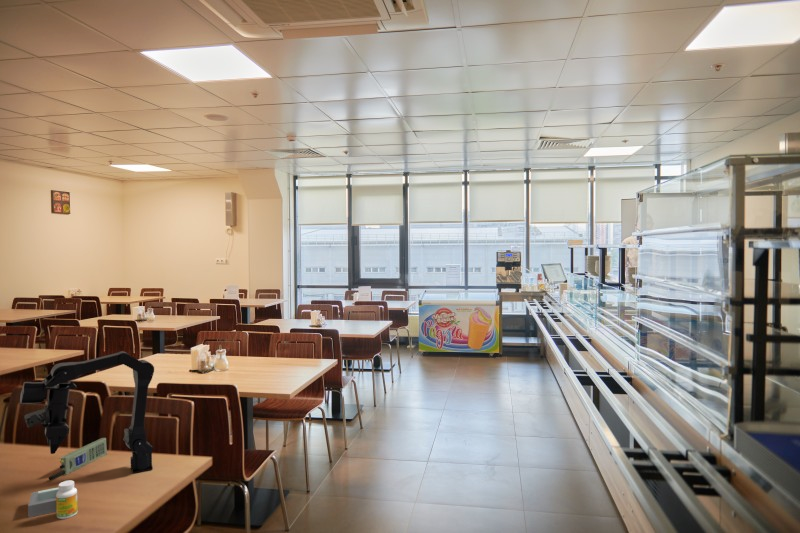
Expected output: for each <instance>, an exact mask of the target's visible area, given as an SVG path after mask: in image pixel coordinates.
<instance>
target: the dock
mask: <svg viewBox="0 0 800 533" xmlns="http://www.w3.org/2000/svg"><path fill="white" fill-rule="evenodd" d="M58 491H59V486H58V487H53V488H48V489H43V490H39V491H33V492H31V495H30V498H29V501H28V505H27V513H28V514H27V516H28V518H33V517H37V516H42V515H46V514H51V513H56V494H57V492H58Z"/></svg>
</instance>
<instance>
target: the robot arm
mask: <svg viewBox="0 0 800 533" xmlns="http://www.w3.org/2000/svg"><path fill="white" fill-rule="evenodd" d="M118 365H124V366H126V367H127V368H129V369H130V370H132V377H133V381H134V391H133V392H134V394H133V401H132V402H133V403H132V411H131V413H132V414H131V421H130V425H129V427H128V428H124V430H123V431H124V437H122V438H123V439H122V440H123V441H124V442H125V445H126V447H128V448H129V450H130V451H131V456H130V470H131V472H132V474H137V473H141V472H142V473H143V472H146V471H151V470H154V469H153V458H152V457H153V456H152V454H153V451H154V449H155V448H154V447H153V446H152V445H151V444H150V442H148V441H147V433H146V428H145V420H146V419H145V418H146V412H147V411H146V409H147V400H148V393H149V392H148V390H149V385H150V383H151V382H152V379H153V376H154V372H155V366H154V365H153V364H152V363H151V362H150V361H147V360H146V359H137V358H136V357H134V356H131V355H130V354H129V353H127V352H125V351H123V350H122V351H118V352H115V353H112V354H107V355H104V356H99V357H96V358H92V359H87V360H84V361H83V360H82V361H68V362H67V361H66V362H59V363H56V364H54V366H52V368H51V370H50V373H49V374H48V375H47V376H46V377H45V378H44V379H43V380H42V381H40V382H39V381H38V382H37V381H36V382H31V381H24V382H23V384H22V389H21V391H20V398H19V402H20V403H19V404H20V405H24V404H25V405H26V404H42V403H43V402H45V401H46V400H47V403H46V404H45V405H44V408H42V409H39V410H36V411H32V412H29V413H27V414H25V415H23V416H24V421H25V424H26V427H27V428H32V427H33V426H35V425H38V424H41V425H42V427H43V428H45V429H44V436H45V437H46V440H47V445H48V446H49V451H50V454H51V455H54V454H55V453H56V452H57V451H58V449H59V448H60V445H62V443H63V441H64V440H65V438H66V437H67V436H68V435H69V433H70V432H69V431H70V427H69V425H68V424H67V423H66V422H67V412H68V410H69V404H68V403H69V396H70V390H76V389H78V387H77V385H76V384H75V383H74V382H73V380H75V379H77V378H79V377H81V376H83V375H85V374H88V373H91V372H96V371H99V370H104V369H108V368H111V367H115V366H118Z"/></svg>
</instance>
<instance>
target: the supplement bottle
mask: <svg viewBox="0 0 800 533" xmlns="http://www.w3.org/2000/svg"><path fill="white" fill-rule="evenodd" d="M58 487H59V491H58V492H57V494H56V512H55V514H56V518H57V519H59V520H65V519H70V518H73V517H74V516H75V515H77V514H78V509H79V508H78V488H76V487H75V481H74V480H69V479H68V480H64V481H62V482H59V483H58Z"/></svg>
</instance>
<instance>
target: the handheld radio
mask: <svg viewBox="0 0 800 533" xmlns="http://www.w3.org/2000/svg"><path fill="white" fill-rule="evenodd" d="M107 447H108V446H107V437H101V438H99V439H97V440H95V441H92V442H91V443H88V444H86V445H84V446H82V447H79V448H77V449H75V450H74V451H72V452H69V453H67V454H65V455H63V456H61V457H59V459H60V460H59V463H60V464H61V465H59V469H61V471H59V472H57V473H54V474H53V475H51V476H49V477H48V480H49V481H52V480H54V479H57V478H58V477H60V476H62V475H63V476H66V475H69V474H72V473H73V472H75V471H77V470H80V469H81V468H83V467H85V466H87V465H89V464H91V463H93V462H95V461H96V460H98V459H101V458H103V457H105V456H106V455H107V454H108V450H107V449H108V448H107Z"/></svg>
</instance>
